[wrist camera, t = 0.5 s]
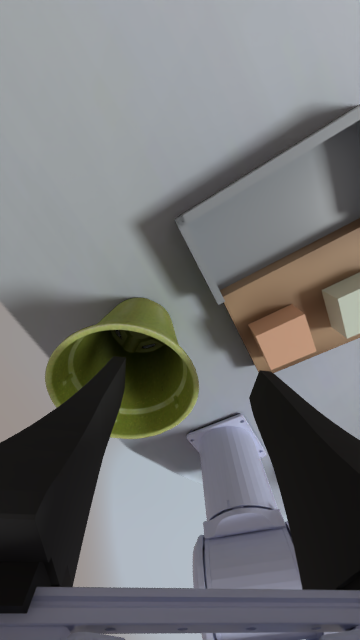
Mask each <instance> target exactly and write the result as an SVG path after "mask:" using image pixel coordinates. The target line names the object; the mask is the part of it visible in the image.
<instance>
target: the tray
mask: <svg viewBox="0 0 360 640" xmlns="http://www.w3.org/2000/svg"><path fill="white" fill-rule="evenodd" d="M359 218H360V105H358V106H357V107H355V108H353V109H352V110H350V111H349V112H347V113H345V114H344V115H342V116H340V117H339V118H337V119H336V120H334V121H332V122H331V123H329V124H327V125H326V126H324V127H323V128H321V129H319V130H318V131H316V132H314V133H313V134H311V135H310V136H308V137H306V138H305V139H303V140H302V141H300V142H298V143H297V144H295V145H293V146H292V147H290V148H289V149H287V150H285V151H284V152H282V153H280V154H279V155H277V156H276V157H274V158H272V159H271V160H269V161H267V162H266V163H264V164H263V165H261V166H259V167H258V168H256V169H255V170H253V171H251V172H250V173H248V174H246V175H245V176H243V177H242V178H240V179H238V180H237V181H235V182H233V183H232V184H230V185H229V186H227V187H225V188H224V189H222V190H220V191H219V192H217V193H216V194H214V195H212V196H211V197H209V198H207V199H206V200H204V201H203V202H201V203H199V204H198V205H196V206H195V207H193V208H191V209H190V210H188V211H186V212H185V213H183V214H182V215H180V216H178V217H177V218H175V222H176V224H177V226H178V228H179V230H180V232H181V234H182V236H183V237H184V239H185V241H186V243H187V245H188V247H189V249H190V251H191V253H192V255H193V257H194V259H195V261H196V263H197V265H198V267H199V269H200V270H201V272H202V274H203V276H204V278H205V280H206V282H207V284H208V286H209V288H210V290H211V292H212V294H213V296H214V298H215V300H216V302H217V303H218V305H220V304H222V303H223V302H225V300H224V298H223V296H222V294H221V292H220V290H221V289H223V288H225V287H227V286H229V285H231V284H233V283H235V282H237V281H239V280H241V279H243V278H245V277H247V276H249V275H251V274H252V273H254V272H256V271H258V270H260V269H262V268H264V267H266V266H268V265H270V264H272V263H274V262H276V261H278V260H280V259H281V258H283V257H285V256H287V255H289V254H291V253H293V252H295V251H297V250H299V249H301V248H303V247H305V246H307V245H309V244H311V243H312V242H314V241H316V240H318V239H320V238H322V237H324V236H326V235H328V234H330V233H332V232H334V231H336V230H338V229H340V228H341V227H343V226H345V225H347V224H349V223H351V222H353V221H355V220H357V219H359Z"/></svg>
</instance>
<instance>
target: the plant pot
mask: <svg viewBox="0 0 360 640" xmlns="http://www.w3.org/2000/svg"><path fill="white" fill-rule="evenodd" d="M115 330H119V332H120V335H121V337H122V339H121V338H120V337H119V336H118V335H117V334H116V332H115ZM153 343H154V344H155V346H153V347H150V348H146V349H145V348H142V347H143V346H146V345H151V344H153ZM114 356H117V357H126V370H125V389H124V394H123V398H122V402H121V406H120V409H119V412H118V415H117V418H116V421H115V424H114V427H113V429H112V432H111V435H110V437H111V438H123V439H138V438H146V437H149V436H155V435H158V434H161V433H163V432H165V431H167V430H170V429H172V428H173V427H175V426H176V425H178V424H179V423H180V422H181V421H183V420H184V419H185V418H186V417H187V416H188V415H189V413H190V412H191V411H192V409H193V407H194V405H195V403H196V401H197V398H198V393H199V381H198V376H197V373H196V369H195V367H194V365H193V363H192V361H191V360H190V358H189V357H188V355H187V354H186V353H185V351H184V350H183V349H182V348H181V347H180V346H179V345H178V342H177V338H176V335H175V331H174V328H173V324H172V321H171V318H170V316H169V314H168V312H167V311H166V310H165V309H164V308H163V307H162V306H161V305H159V304H157V303H155V302H153V301H151V300H149V299H146V298H132V299H128V300H125V301H123V302H121V303H120V304H118V305H117V306H116V307H115V308H114V309H113V310H112V311H111V312H110V313H109V314H107V315H106V316H105V317H104V318H103V319H102V320H101V321H100V322H99V323H97V324H96V325H93V326H89V327H86V328H84V329H81V330H79V331H77V332H75V333H74V334H72V335H70V336H69V337H68V338H66V339H65V340H64V341H63V342H62V343H61V344H60V345H59V346H58V347H57V348H56V349H55V350H54V352H53V353H52V355H51V357H50V359H49V361H48V364H47V367H46V373H45V382H46V387H47V391H48V393H49V395H50V398H51V400H52V402H53V403H54V405H55V406H56V407H59V406H60V405H61V404H63V403H64V402H65V401H67V400H68V399H69V398H70V397H72V396H73V395H74V394H75V393H76V392H77V391H79V390H80V389H81V388H82V387H83V386H84V385H85V384H87V383H88V382H89V381H90V380H91V379H92V378H93V377H94V376H95V375H96V374H97V373H98V372H99V371H100V370H101V369H102V368H103V367H104V366H105V365H106V364H107V363H108V361H109V360H110V359H111V358H112V357H114Z"/></svg>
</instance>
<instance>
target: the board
mask: <svg viewBox="0 0 360 640" xmlns="http://www.w3.org/2000/svg"><path fill="white" fill-rule="evenodd" d="M359 272H360V218H359V219H357V220H355V221H353V222H351V223H349V224H347V225H345V226H343V227H341V228H340V229H338V230H336V231H334V232H332V233H330V234H328V235H326V236H324V237H322V238H320V239H318V240H316V241H314V242H312V243H311V244H309V245H307V246H305V247H303V248H301V249H299V250H297V251H295V252H293V253H291V254H289V255H287V256H285V257H283V258H281V259H280V260H278V261H276V262H274V263H272V264H270V265H268V266H266V267H264V268H262V269H260V270H258V271H256V272H254V273H252V274H251V275H249V276H247V277H245V278H243V279H241V280H239V281H237V282H235V283H233V284H231V285H229V286H227V287H225V288H223V289H221V290H220V292H221V294H222V296H223V298H224V300H225V302H224V304H225V306H226V308H227V310H228V312H229V314H230V316H231V318H232V320H233V322H234V324H235V326H236V328H237V330H238V332H239V334H240V336H241V338H242V340H243V342H244V344H245V346H246V348H247V350H248V352H249V354H250V356H251V358H252V360H253V362H254V364H255V366H256V368H257V370H258V372H259V371H260V370H262V371H271V372H272V373H275V372H277V371H280V370H282V369H285V368H287V367H289V366H292V365H294V364H297V363H299V362H302V361H304V360H306V359H309V358H311V357H314V356H316V355H319V354H321V353H323V352H326V351H328V350H331V349H333V348H336V347H338V346H340V345H343V344H345V343H348V342H350V341H353V340H355V339H357V338H360V334H357V335H355V336H352V337H350V338H348V339H347V338H346V337H344V336H343V335H341V334H340V333H339V332H337V331H336V330H335V329H333V328H332V327H331V324H330V320H329V317H328V313H327V309H326V305H325V301H324V298H323V294H322V290H323V289H325V288H327V287H329V286H331V285H334V284H336V283H338V282H340V281H342V280H344V279H346V278H349V277H351V276H353V275H355V274H357V273H359ZM291 304H293V305H294V306H295V307H296V308H298V309H299V310H300V311H302V312H303V313H304V314H305V317H306V320H307V323H308V326H309V329H310V332H311V335H312V338H313V342H314V345H315V348H316V352H314V353H311V354H309V355H307V356H304V357H302V358H299V359H297V360H295V361H292V362H290V363H287V364H285V365H283V366H280V367H278V368H275V369H273V370H271V369H270V367H269V366H268V364H267V363H266V361H265V359H264V358H263V356H262V354H261V352H260V349H259V347H258V345H257V343H256V341H255V339H254V337H253V334H252V332H251V330H250V328H249V326H248V324H250V323H253V322H255V321H257V320H259V319H261V318H263V317H265V316H267V315H270V314H272V313H274V312H276V311H278V310H280V309H282V308H285V307H287V306H289V305H291Z"/></svg>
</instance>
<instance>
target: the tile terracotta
mask: <svg viewBox="0 0 360 640" xmlns="http://www.w3.org/2000/svg"><path fill="white" fill-rule="evenodd" d="M248 326H249V328H250V330H251V332H252V334H253V337H254V339H255V341H256V343H257V345H258V347H259V349H260V352H261V354H262V356H263V358H264V359H265V361H266V363H267V364H268V366H269V367H270V369H271V370H273V369H275V368H278V367H280V366H283V365H285V364H287V363H290V362H292V361H295V360H297V359H299V358H302V357H304V356H307V355H309V354H311V353H314V352H316V348H315V345H314V342H313V338H312V335H311V332H310V329H309V326H308V323H307V320H306V317H305V314H304V313H303V312H302V311H300V310H299V309H298V308H296V307H295V306H294V305H293V304H291V305H289V306H287V307H285V308H282V309H280V310H278V311H276V312H274V313H272V314H270V315H267V316H265V317H263V318H261V319H259V320H257V321H255V322H253V323H250V324H248Z"/></svg>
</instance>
